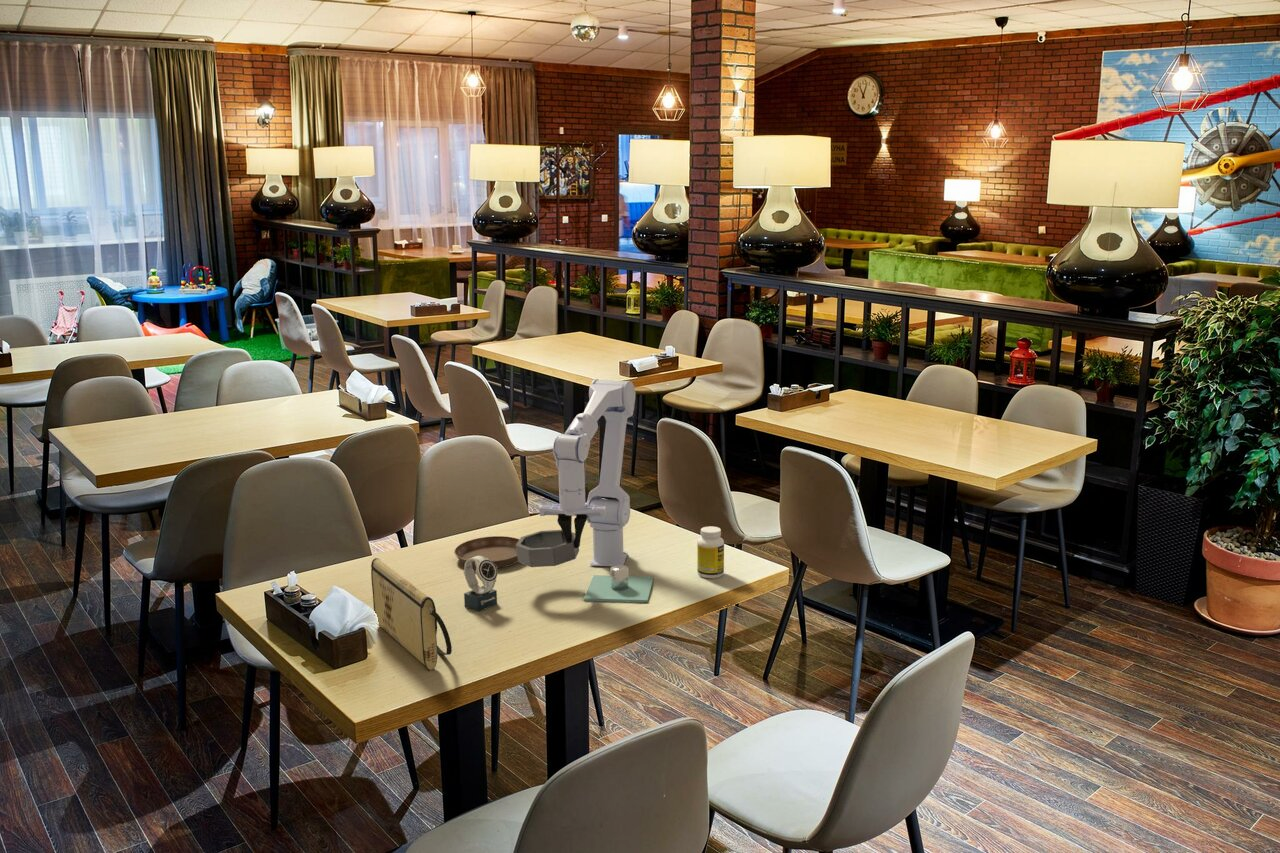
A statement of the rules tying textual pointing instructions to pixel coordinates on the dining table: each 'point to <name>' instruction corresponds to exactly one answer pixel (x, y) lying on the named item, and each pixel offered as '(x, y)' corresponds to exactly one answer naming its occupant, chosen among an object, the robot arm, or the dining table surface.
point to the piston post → (619, 577)
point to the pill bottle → (710, 553)
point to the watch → (487, 574)
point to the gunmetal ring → (546, 549)
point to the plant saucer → (489, 550)
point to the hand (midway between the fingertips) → (573, 546)
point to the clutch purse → (407, 614)
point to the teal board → (634, 593)
